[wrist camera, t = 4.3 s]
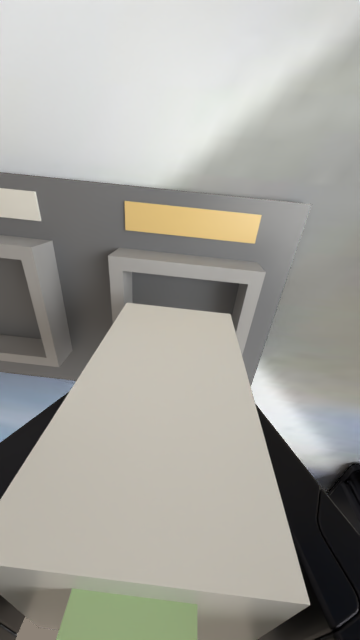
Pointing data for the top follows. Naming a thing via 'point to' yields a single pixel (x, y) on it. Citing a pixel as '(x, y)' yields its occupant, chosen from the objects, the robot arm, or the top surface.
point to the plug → (153, 495)
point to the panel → (132, 264)
